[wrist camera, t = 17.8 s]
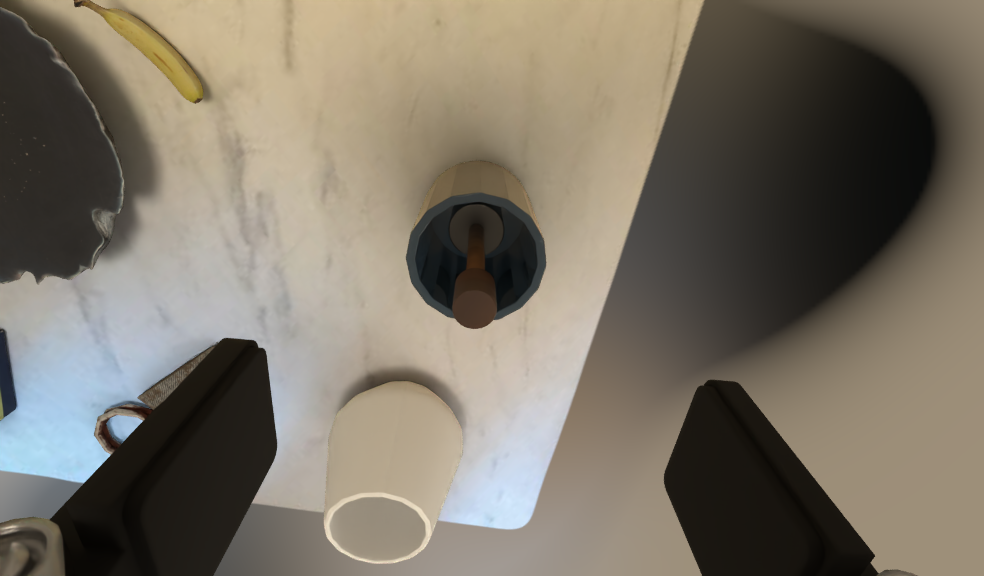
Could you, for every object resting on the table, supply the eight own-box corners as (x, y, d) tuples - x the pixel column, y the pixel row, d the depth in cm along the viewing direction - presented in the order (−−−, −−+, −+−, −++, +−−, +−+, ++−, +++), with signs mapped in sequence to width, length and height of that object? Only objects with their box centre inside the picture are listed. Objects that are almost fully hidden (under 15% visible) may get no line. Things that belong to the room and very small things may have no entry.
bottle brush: (512, 211, 40) (532, 302, 25) (481, 249, 41) (482, 357, 26) (471, 180, 39) (465, 256, 23) (441, 221, 40) (417, 317, 25)
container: (551, 203, 40) (574, 249, 30) (487, 280, 43) (489, 343, 34) (465, 137, 38) (460, 163, 28) (404, 223, 41) (380, 274, 31)
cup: (337, 452, 52) (292, 573, 40) (344, 354, 47) (295, 461, 34) (454, 467, 54) (446, 589, 41) (475, 374, 48) (473, 483, 36)
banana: (110, 13, 33) (65, 7, 30) (123, -5, 33) (79, -14, 29) (206, 105, 36) (176, 110, 33) (220, 90, 36) (191, 93, 32)
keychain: (269, 388, 48) (261, 401, 47) (147, 464, 53) (135, 479, 51) (211, 336, 45) (200, 347, 44) (87, 421, 50) (72, 434, 48)
